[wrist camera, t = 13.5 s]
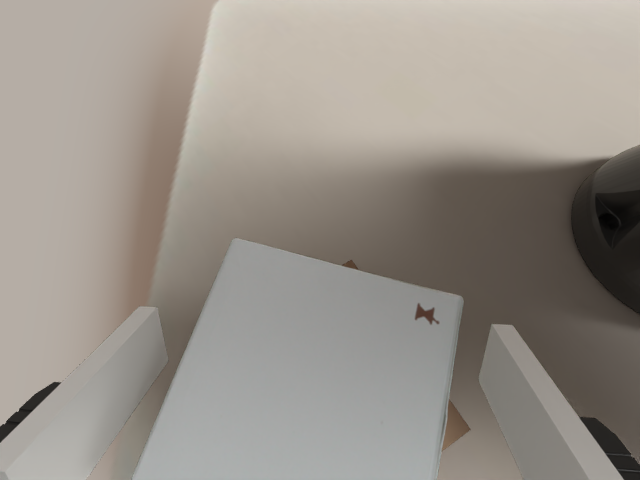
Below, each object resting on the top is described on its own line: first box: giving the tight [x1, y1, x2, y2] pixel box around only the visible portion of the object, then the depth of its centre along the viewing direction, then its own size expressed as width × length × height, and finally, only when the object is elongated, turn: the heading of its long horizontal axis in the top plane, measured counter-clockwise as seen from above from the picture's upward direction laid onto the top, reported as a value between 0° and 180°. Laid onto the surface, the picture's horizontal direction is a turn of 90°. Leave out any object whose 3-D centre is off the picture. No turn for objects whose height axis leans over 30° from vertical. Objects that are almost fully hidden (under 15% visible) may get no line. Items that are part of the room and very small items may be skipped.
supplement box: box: [131, 238, 464, 480], centre depth 15 cm, size 7×7×13 cm
